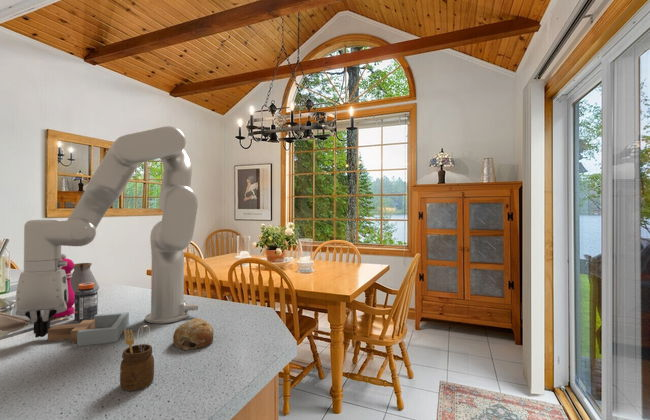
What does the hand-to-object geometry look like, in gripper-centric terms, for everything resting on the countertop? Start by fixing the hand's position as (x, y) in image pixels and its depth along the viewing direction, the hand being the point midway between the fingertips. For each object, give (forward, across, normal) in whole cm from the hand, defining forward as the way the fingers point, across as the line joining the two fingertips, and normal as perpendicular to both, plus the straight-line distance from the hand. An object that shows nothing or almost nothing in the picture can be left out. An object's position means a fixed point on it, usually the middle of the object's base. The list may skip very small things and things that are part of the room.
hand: (41, 335), depth 88 cm
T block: (+1, -6, 0) cm, 6 cm away
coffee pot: (+2, +5, -44) cm, 44 cm away
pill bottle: (+2, -5, -16) cm, 17 cm away
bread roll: (+2, -38, +14) cm, 40 cm away
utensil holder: (+2, -28, +33) cm, 43 cm away
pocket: (+1, -14, 0) cm, 15 cm away
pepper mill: (+2, +4, -24) cm, 24 cm away
